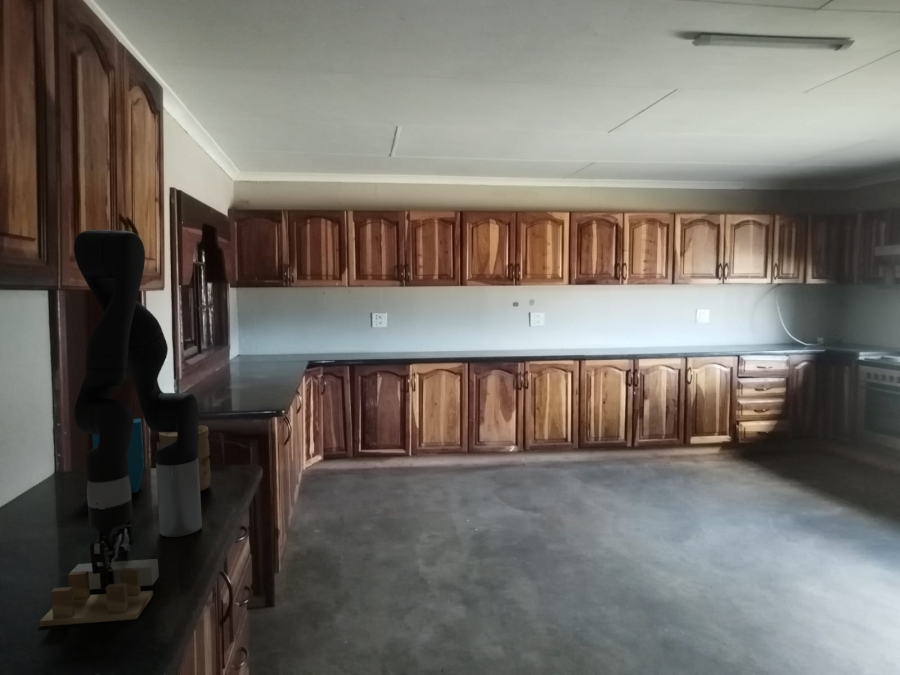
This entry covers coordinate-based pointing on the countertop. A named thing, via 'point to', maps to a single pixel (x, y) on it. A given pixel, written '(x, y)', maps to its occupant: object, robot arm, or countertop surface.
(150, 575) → the clay bar
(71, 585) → the rack
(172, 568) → the countertop surface
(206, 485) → the container
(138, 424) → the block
